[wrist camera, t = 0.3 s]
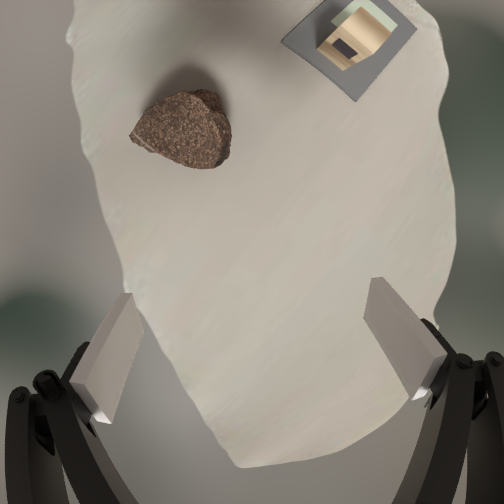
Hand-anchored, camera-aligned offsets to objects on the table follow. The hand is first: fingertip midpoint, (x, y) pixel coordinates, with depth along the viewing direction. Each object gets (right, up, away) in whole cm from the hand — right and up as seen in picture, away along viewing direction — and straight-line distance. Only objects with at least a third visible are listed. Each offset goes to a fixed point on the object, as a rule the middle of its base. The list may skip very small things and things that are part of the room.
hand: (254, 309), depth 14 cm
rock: (-8, +20, +21) cm, 30 cm away
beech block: (+13, +33, +16) cm, 38 cm away
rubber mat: (+16, +37, +15) cm, 43 cm away
